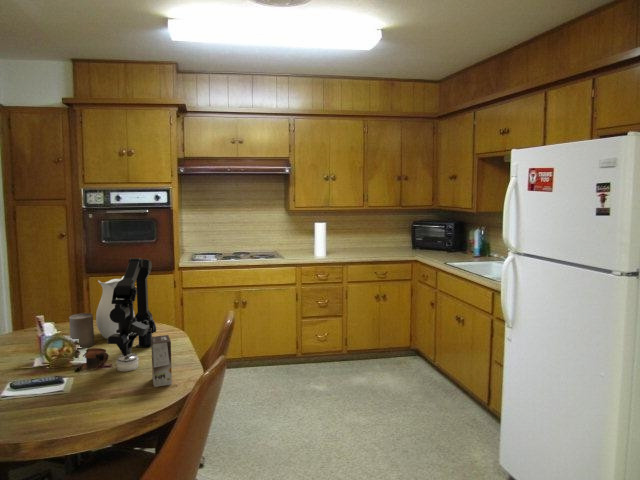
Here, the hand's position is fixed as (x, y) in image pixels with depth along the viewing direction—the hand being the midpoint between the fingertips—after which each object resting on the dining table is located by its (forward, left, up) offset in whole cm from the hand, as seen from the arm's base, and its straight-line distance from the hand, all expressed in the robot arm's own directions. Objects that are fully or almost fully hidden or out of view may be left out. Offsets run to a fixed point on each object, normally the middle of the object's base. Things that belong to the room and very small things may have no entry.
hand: (127, 354), depth 194 cm
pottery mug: (-1, -13, -6) cm, 14 cm away
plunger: (0, 0, -1) cm, 1 cm away
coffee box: (+12, +19, -6) cm, 23 cm away
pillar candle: (-24, -33, -6) cm, 41 cm away
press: (-1, 0, -5) cm, 5 cm away
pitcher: (-43, -25, -6) cm, 50 cm away
